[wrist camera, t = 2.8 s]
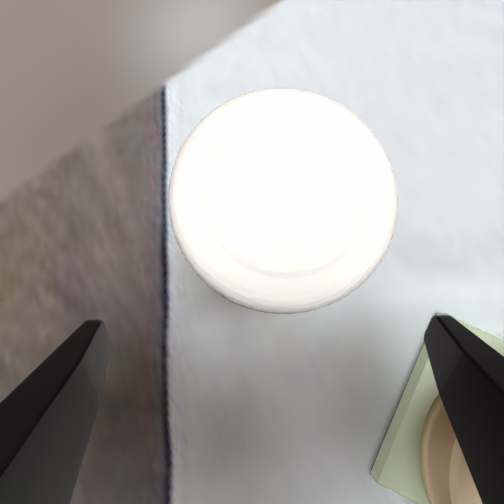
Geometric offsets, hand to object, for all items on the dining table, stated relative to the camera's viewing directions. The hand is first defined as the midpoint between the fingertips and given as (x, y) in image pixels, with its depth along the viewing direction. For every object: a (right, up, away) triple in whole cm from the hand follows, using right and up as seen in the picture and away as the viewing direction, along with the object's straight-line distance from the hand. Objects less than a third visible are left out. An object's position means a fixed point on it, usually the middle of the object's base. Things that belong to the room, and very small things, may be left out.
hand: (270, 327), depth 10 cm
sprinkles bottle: (0, +1, +10) cm, 10 cm away
